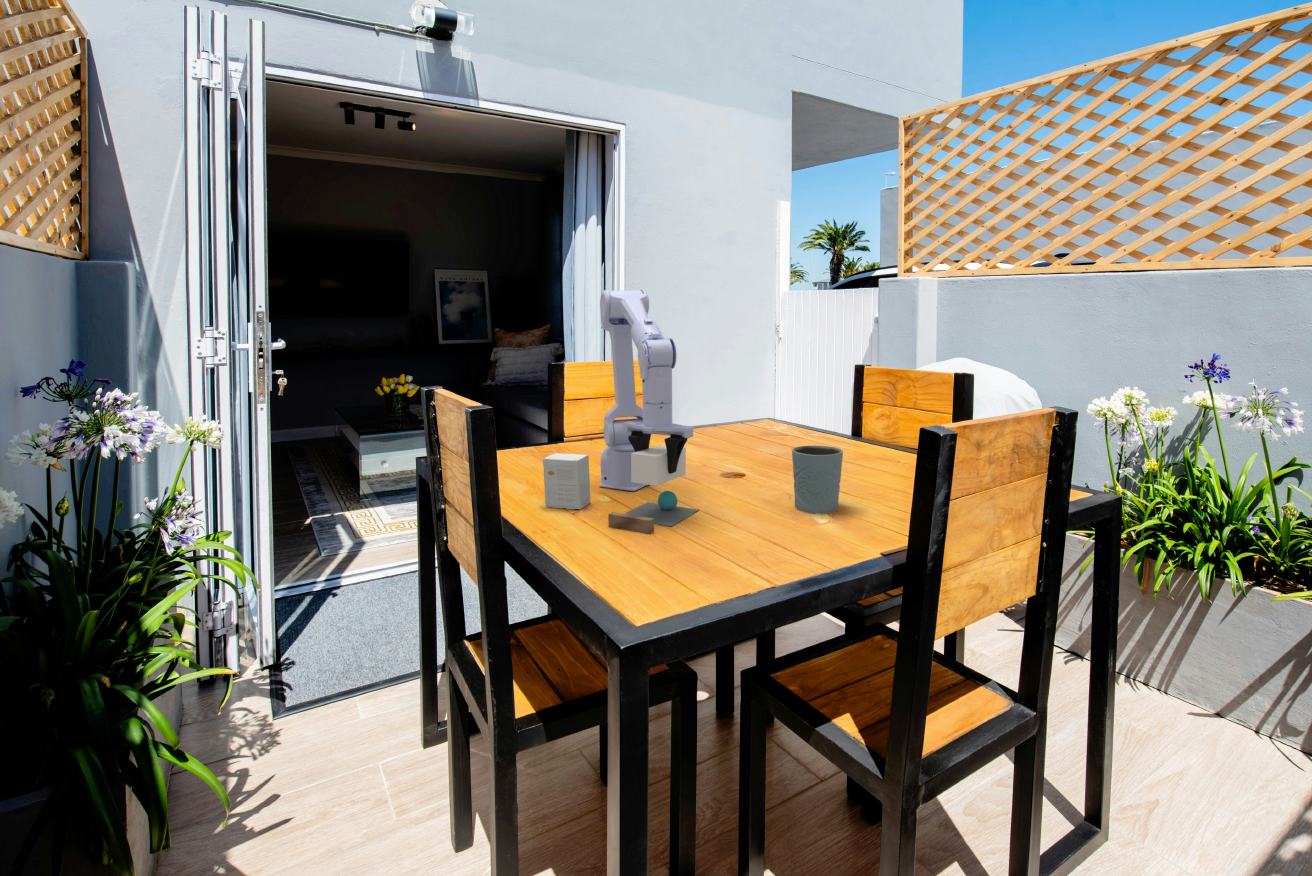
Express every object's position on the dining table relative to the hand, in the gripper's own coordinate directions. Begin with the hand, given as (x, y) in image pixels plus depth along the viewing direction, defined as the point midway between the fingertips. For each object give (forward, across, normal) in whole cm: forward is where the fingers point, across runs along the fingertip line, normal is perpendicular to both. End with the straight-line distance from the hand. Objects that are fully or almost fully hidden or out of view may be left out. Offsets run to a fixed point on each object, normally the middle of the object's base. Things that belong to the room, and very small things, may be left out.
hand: (658, 470), depth 139 cm
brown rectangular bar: (+9, 0, -10) cm, 14 cm away
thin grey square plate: (+9, 0, 0) cm, 9 cm away
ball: (+7, 0, +3) cm, 8 cm away
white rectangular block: (+2, 0, 0) cm, 2 cm away
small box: (+9, -20, -3) cm, 22 cm away
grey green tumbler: (+9, +26, +19) cm, 33 cm away
